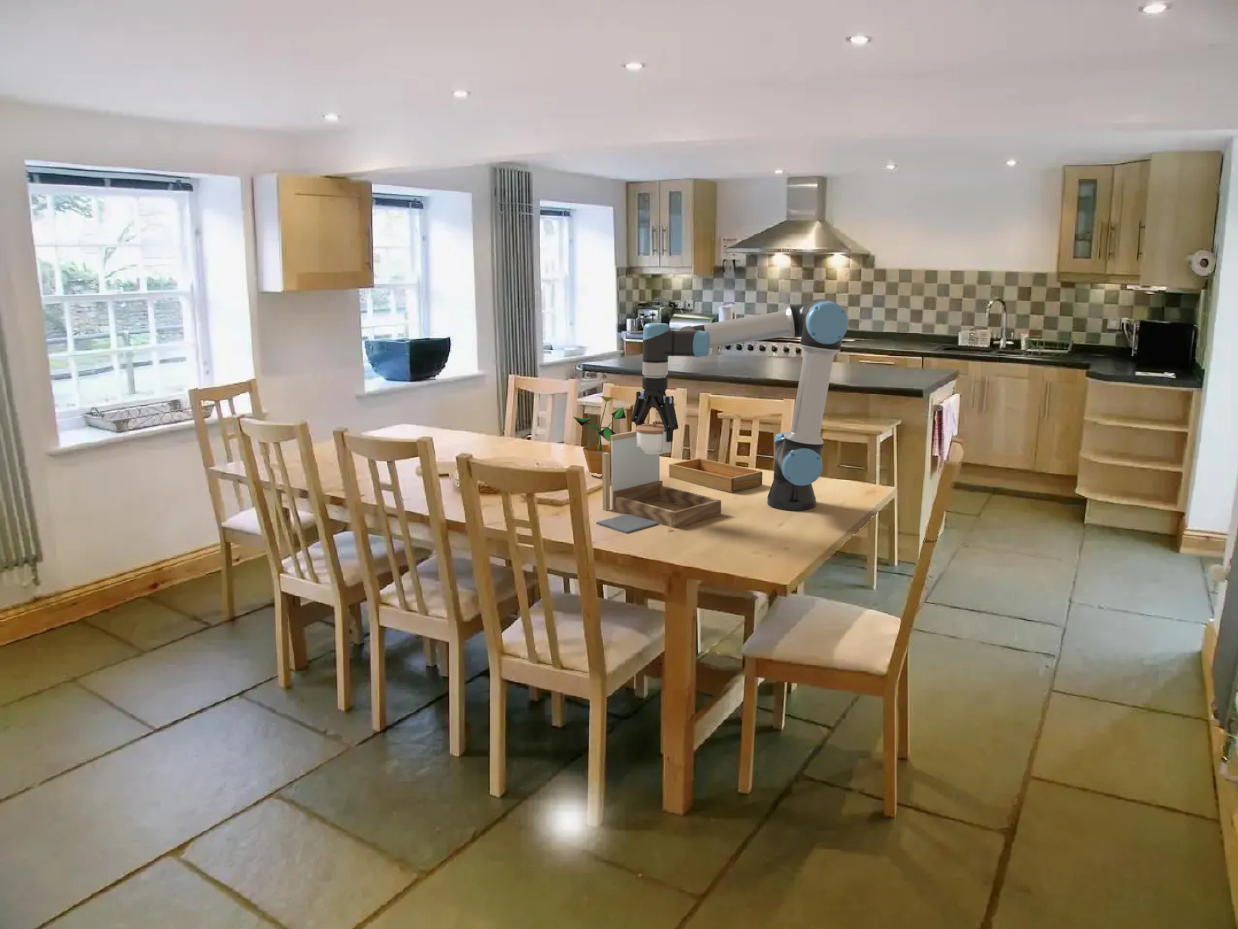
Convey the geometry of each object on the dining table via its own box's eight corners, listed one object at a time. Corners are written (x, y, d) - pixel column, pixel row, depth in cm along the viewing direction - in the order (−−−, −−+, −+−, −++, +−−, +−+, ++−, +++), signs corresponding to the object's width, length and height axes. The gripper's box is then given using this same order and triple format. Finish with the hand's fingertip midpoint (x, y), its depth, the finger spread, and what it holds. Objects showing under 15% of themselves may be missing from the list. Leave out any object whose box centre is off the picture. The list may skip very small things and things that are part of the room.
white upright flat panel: (660, 498, 302) (660, 427, 297) (609, 511, 288) (608, 436, 282) (653, 496, 304) (653, 426, 299) (602, 509, 290) (601, 435, 284)
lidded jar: (630, 450, 282) (631, 419, 280) (663, 448, 285) (664, 417, 283) (643, 457, 272) (643, 425, 270) (677, 455, 275) (677, 424, 273)
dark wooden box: (720, 514, 283) (721, 495, 282) (674, 527, 270) (674, 508, 269) (659, 498, 302) (659, 480, 301) (613, 510, 289) (613, 491, 288)
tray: (668, 478, 331) (668, 462, 330) (699, 471, 340) (699, 456, 339) (731, 495, 308) (731, 478, 307) (762, 487, 317) (762, 471, 316)
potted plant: (632, 479, 328) (631, 395, 322) (580, 482, 324) (578, 397, 317) (620, 468, 345) (619, 388, 339) (570, 471, 341) (569, 390, 334)
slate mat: (658, 524, 274) (658, 522, 273) (626, 533, 265) (626, 531, 265) (628, 515, 283) (628, 513, 283) (596, 524, 274) (596, 522, 274)
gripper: (692, 379, 267) (690, 454, 272) (638, 371, 284) (637, 441, 289) (673, 381, 262) (671, 457, 267) (619, 373, 279) (618, 444, 284)
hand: (653, 449), depth 278 cm, fingers closed on lidded jar, 11 cm apart
